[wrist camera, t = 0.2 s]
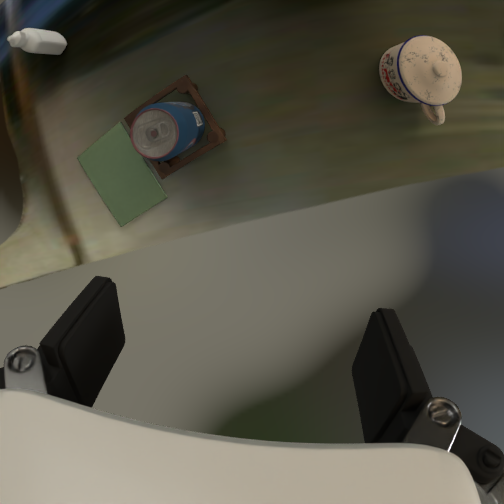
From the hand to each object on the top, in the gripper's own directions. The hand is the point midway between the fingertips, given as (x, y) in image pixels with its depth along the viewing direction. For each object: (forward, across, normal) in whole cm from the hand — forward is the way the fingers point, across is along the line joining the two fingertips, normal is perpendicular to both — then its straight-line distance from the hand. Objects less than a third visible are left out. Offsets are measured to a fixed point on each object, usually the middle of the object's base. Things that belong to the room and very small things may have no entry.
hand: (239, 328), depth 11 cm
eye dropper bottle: (+37, +36, -19) cm, 55 cm away
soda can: (+37, +12, -4) cm, 39 cm away
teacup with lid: (+37, -19, -14) cm, 44 cm away
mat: (+37, +23, +5) cm, 44 cm away
